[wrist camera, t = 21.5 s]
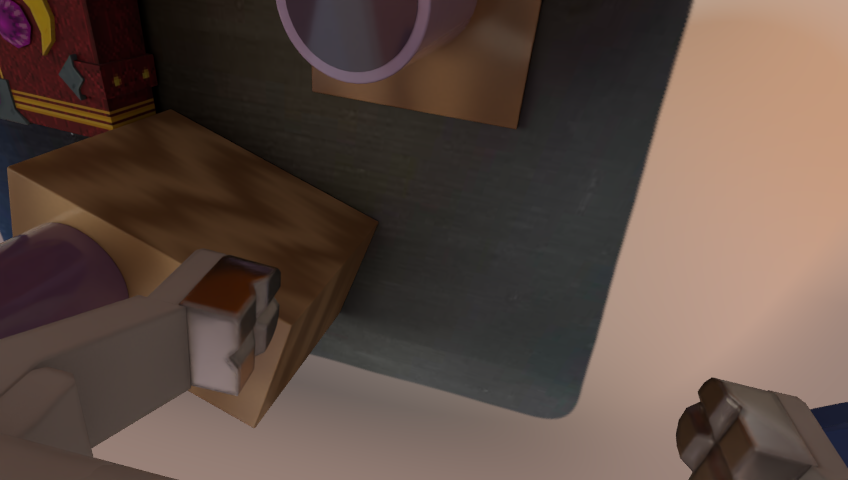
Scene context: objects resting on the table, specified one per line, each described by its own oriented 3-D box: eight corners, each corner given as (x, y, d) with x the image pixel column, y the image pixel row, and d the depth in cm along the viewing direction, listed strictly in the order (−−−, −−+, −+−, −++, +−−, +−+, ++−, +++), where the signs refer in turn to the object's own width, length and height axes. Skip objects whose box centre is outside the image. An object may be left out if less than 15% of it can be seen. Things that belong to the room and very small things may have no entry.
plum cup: (148, 295, 28) (-21, 421, 20) (98, 337, 31) (-63, 459, 24) (56, 200, 26) (-163, 298, 19) (14, 255, 30) (-187, 357, 22)
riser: (379, 221, 36) (291, 325, 26) (339, 313, 41) (254, 429, 31) (170, 108, 36) (6, 166, 26) (158, 212, 42) (17, 294, 32)
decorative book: (127, -121, 29) (49, -134, 25) (169, 143, 38) (115, 166, 34) (-24, -139, 32) (-119, -154, 28) (46, 114, 40) (-18, 132, 36)
